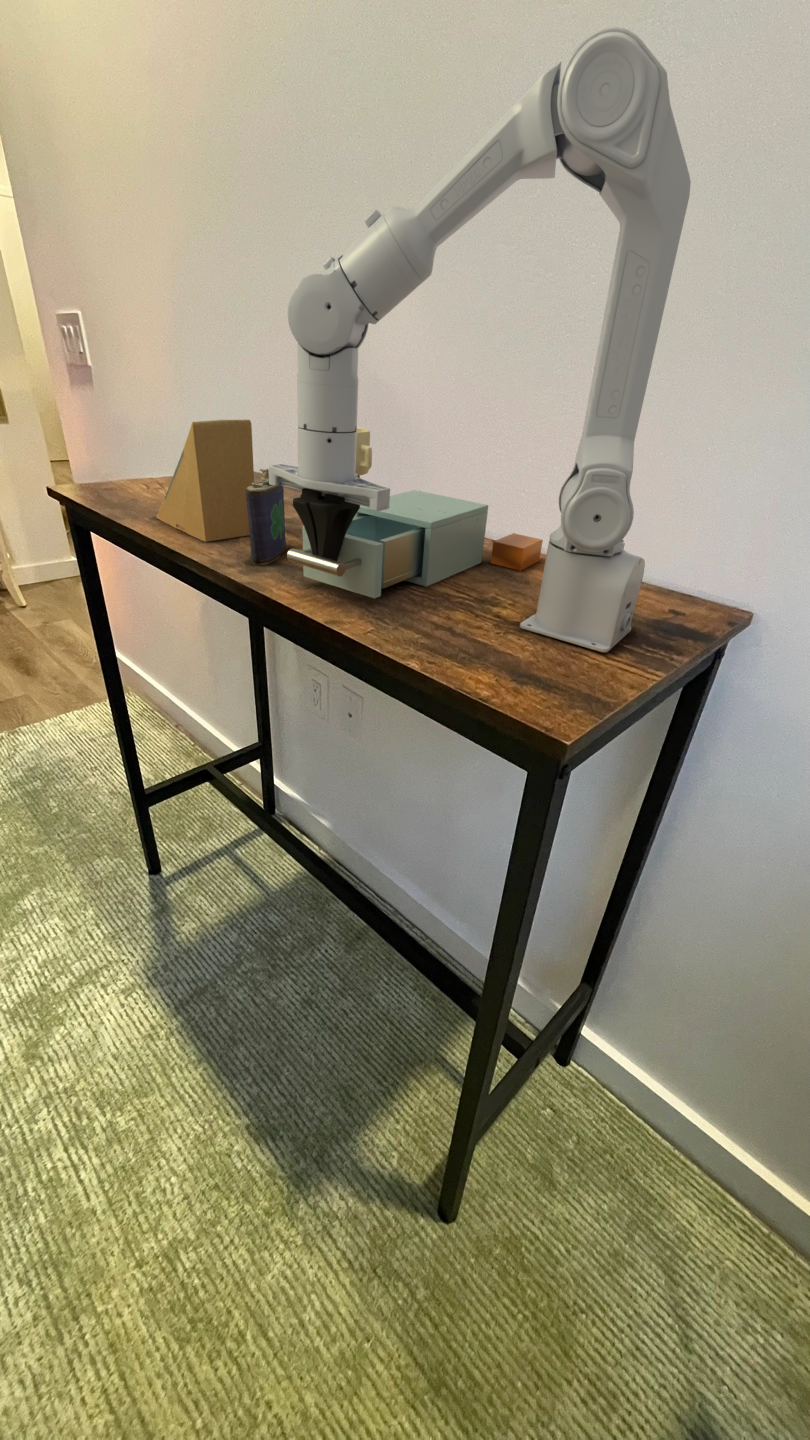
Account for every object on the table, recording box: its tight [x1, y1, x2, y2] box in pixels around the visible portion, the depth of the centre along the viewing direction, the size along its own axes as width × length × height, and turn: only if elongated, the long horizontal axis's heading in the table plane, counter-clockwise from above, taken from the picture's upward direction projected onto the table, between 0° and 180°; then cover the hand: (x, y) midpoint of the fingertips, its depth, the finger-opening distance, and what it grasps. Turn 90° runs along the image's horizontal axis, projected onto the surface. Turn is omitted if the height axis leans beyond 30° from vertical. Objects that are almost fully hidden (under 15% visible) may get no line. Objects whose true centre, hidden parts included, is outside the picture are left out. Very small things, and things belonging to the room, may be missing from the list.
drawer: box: [286, 514, 426, 599], centre depth 72 cm, size 17×10×6 cm, turn 145°
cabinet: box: [354, 489, 489, 588], centre depth 81 cm, size 14×12×8 cm
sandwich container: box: [156, 419, 255, 543], centre depth 89 cm, size 9×15×15 cm, turn 43°
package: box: [489, 532, 544, 572], centre depth 86 cm, size 4×6×3 cm
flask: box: [246, 468, 287, 566], centre depth 80 cm, size 9×3×11 cm, turn 171°
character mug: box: [355, 426, 373, 478], centre depth 100 cm, size 11×7×13 cm, turn 46°
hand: (325, 565), depth 68 cm, fingers closed, pressing on drawer
